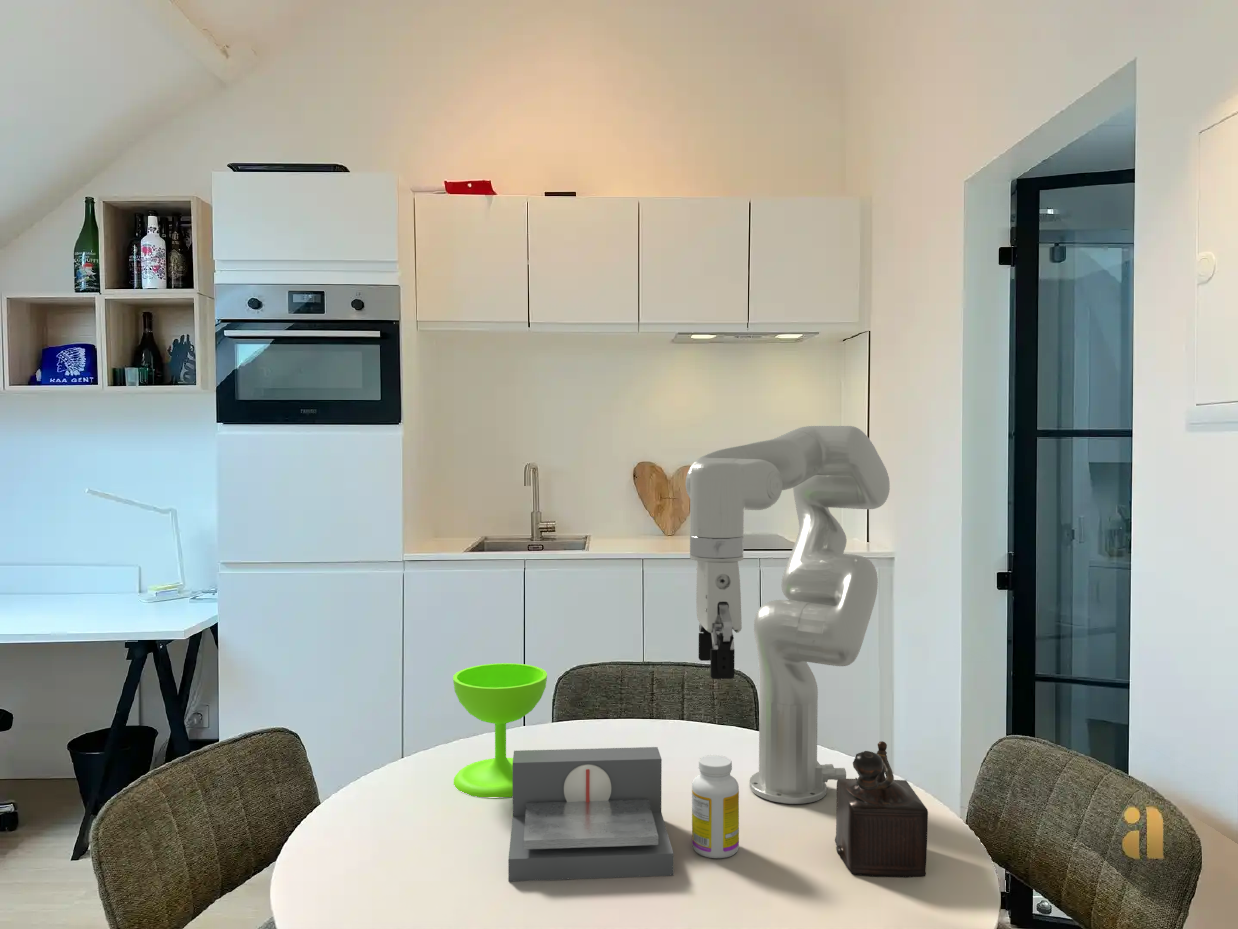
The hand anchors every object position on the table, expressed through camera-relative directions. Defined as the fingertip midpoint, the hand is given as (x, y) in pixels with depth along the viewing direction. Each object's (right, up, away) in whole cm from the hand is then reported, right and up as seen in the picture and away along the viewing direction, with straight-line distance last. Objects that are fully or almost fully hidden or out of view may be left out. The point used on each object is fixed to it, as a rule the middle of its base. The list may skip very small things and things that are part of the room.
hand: (715, 668), depth 125 cm
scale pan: (-18, -22, -1) cm, 28 cm away
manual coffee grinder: (+22, -27, -4) cm, 35 cm away
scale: (-18, -26, +2) cm, 32 cm away
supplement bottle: (0, -26, +1) cm, 26 cm away
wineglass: (-34, -25, +26) cm, 50 cm away
